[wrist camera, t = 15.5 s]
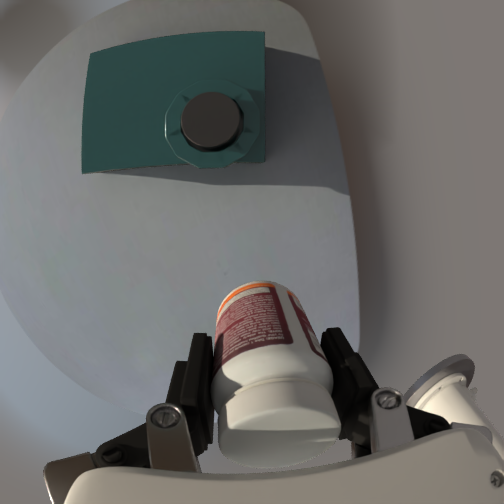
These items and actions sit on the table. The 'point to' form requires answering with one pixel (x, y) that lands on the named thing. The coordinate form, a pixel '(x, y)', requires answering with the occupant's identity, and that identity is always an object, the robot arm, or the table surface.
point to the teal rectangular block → (171, 100)
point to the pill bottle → (270, 380)
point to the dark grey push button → (210, 120)
